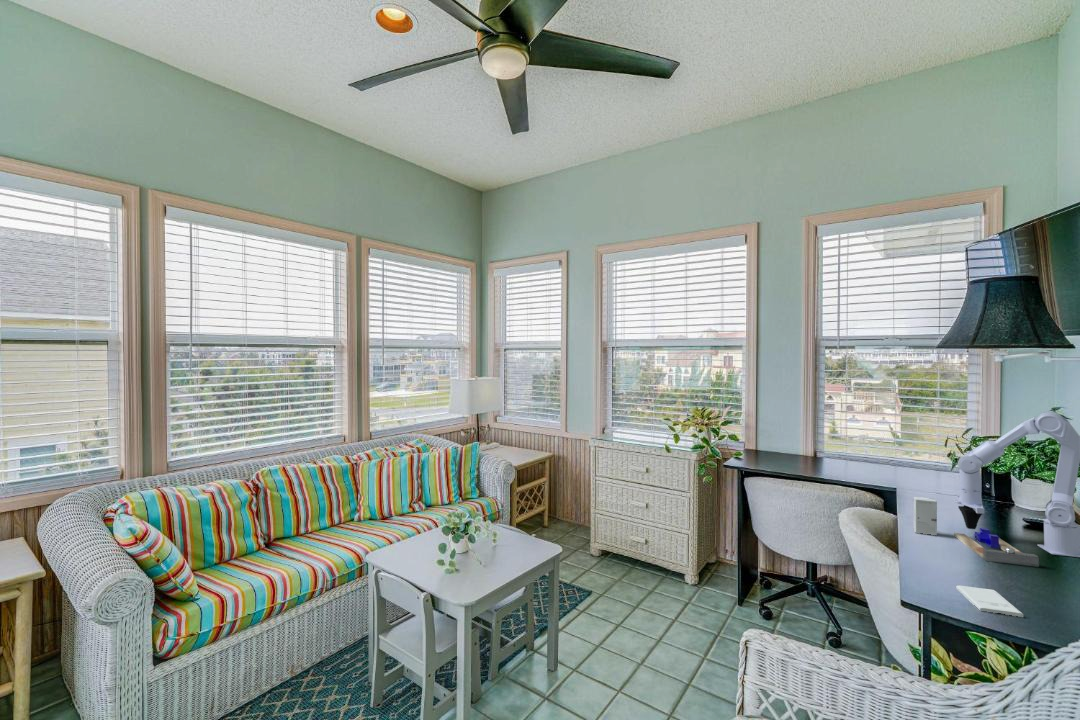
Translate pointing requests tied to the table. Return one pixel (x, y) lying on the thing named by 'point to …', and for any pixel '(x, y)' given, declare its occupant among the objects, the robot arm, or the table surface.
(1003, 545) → the birch track
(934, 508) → the skincare box
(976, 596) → the external hard drive
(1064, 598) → the table surface
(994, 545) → the cable holder
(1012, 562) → the block
